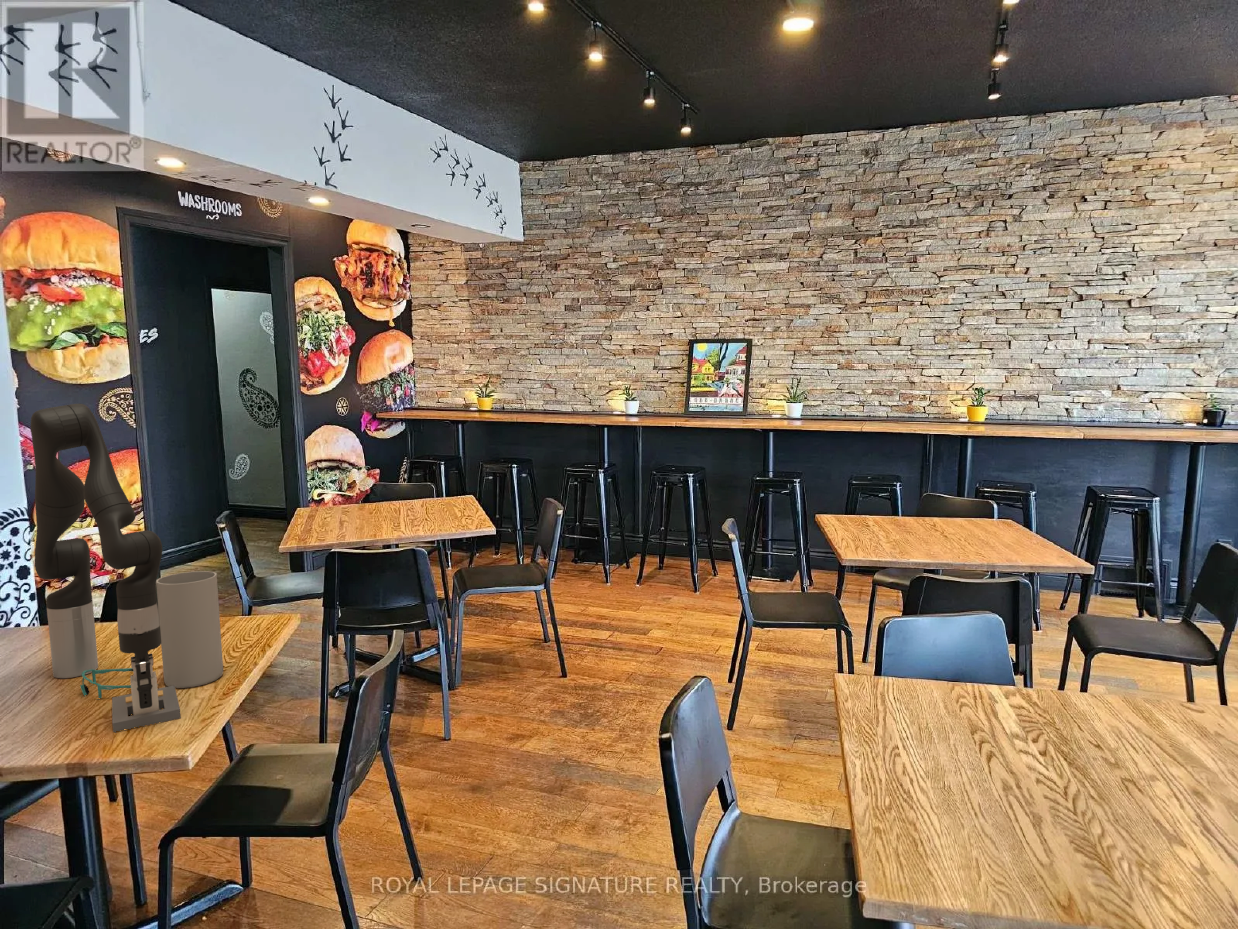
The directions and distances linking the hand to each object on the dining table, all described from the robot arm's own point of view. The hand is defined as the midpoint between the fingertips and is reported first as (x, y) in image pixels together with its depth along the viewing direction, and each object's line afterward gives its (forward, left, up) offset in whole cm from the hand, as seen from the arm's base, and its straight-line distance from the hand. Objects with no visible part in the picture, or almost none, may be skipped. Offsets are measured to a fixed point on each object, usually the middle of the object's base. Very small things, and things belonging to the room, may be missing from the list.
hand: (145, 700), depth 164 cm
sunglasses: (-24, -5, -4) cm, 25 cm away
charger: (0, 0, -4) cm, 4 cm away
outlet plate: (-3, 0, -4) cm, 5 cm away
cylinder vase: (-18, +11, -4) cm, 22 cm away
